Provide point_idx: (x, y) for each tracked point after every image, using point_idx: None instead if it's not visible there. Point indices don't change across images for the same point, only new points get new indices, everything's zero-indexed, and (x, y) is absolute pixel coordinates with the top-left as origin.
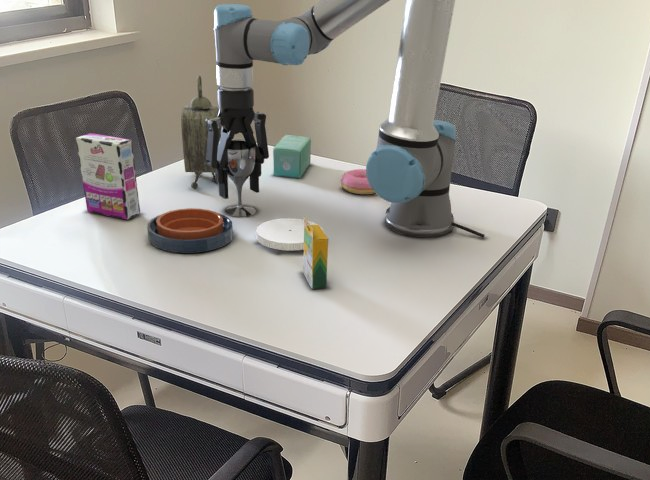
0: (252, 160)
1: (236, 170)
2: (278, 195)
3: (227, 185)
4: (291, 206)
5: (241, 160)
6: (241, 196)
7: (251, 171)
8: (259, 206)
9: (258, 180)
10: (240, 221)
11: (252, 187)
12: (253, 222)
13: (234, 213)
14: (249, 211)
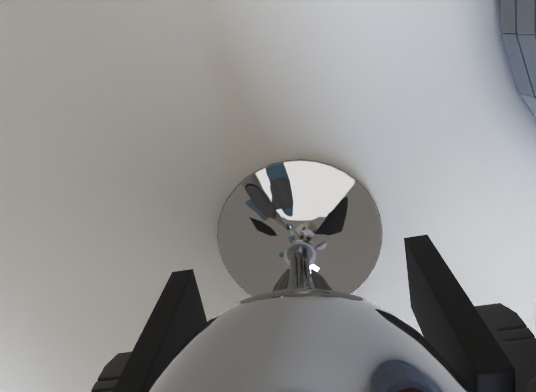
0: (187, 376)
1: (393, 323)
2: (43, 357)
3: (433, 282)
4: (19, 204)
5: (365, 369)
6: (291, 273)
7: (217, 315)
8: (180, 263)
9: (152, 317)
10: (361, 100)
11: (199, 319)
12: (299, 56)
13: (350, 205)
14: (264, 199)
